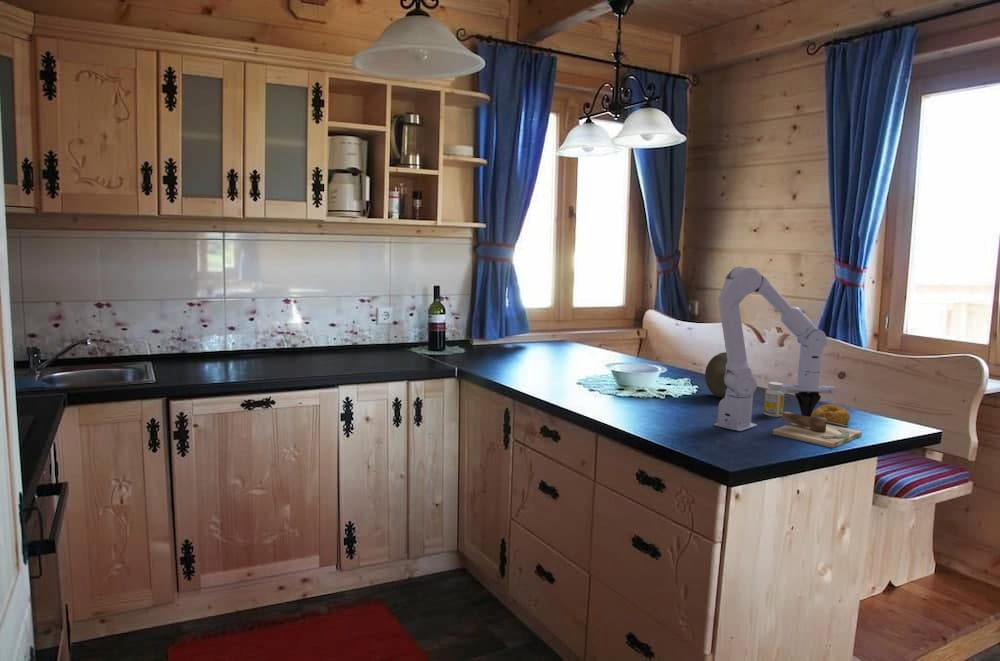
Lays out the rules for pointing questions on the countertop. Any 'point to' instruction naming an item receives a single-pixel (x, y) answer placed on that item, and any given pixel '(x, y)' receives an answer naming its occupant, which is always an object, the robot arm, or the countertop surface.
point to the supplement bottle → (774, 400)
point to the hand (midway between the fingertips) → (805, 418)
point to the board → (818, 434)
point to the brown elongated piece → (809, 421)
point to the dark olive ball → (717, 375)
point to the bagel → (833, 414)
